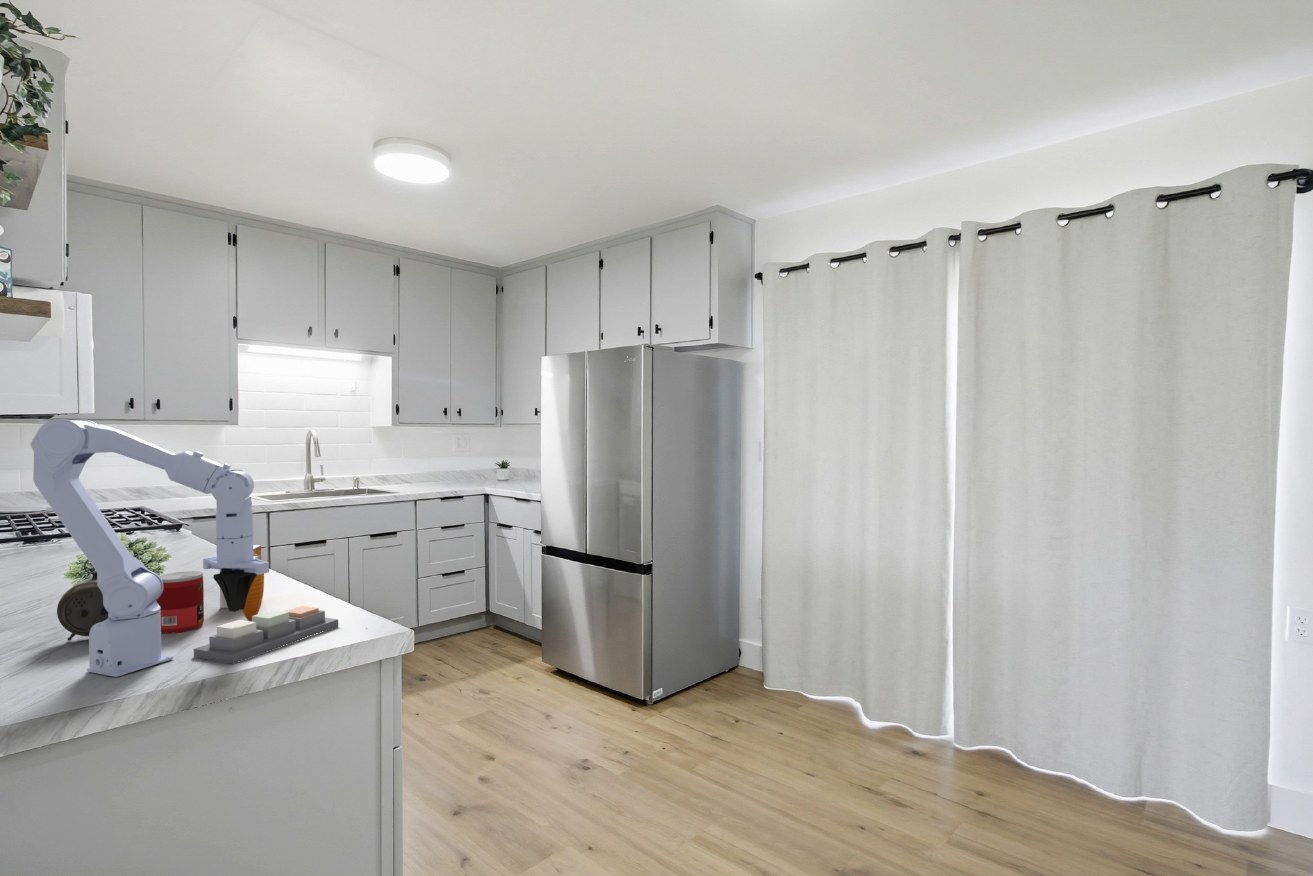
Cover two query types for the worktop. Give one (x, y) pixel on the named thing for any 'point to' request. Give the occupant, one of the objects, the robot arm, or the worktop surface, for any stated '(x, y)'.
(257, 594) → the carrot
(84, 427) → the robot arm
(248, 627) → the offwhite key
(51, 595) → the worktop surface
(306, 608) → the terracotta key
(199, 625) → the canned food
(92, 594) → the alarm clock
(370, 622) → the worktop surface
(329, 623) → the keypad console
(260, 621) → the sage key
